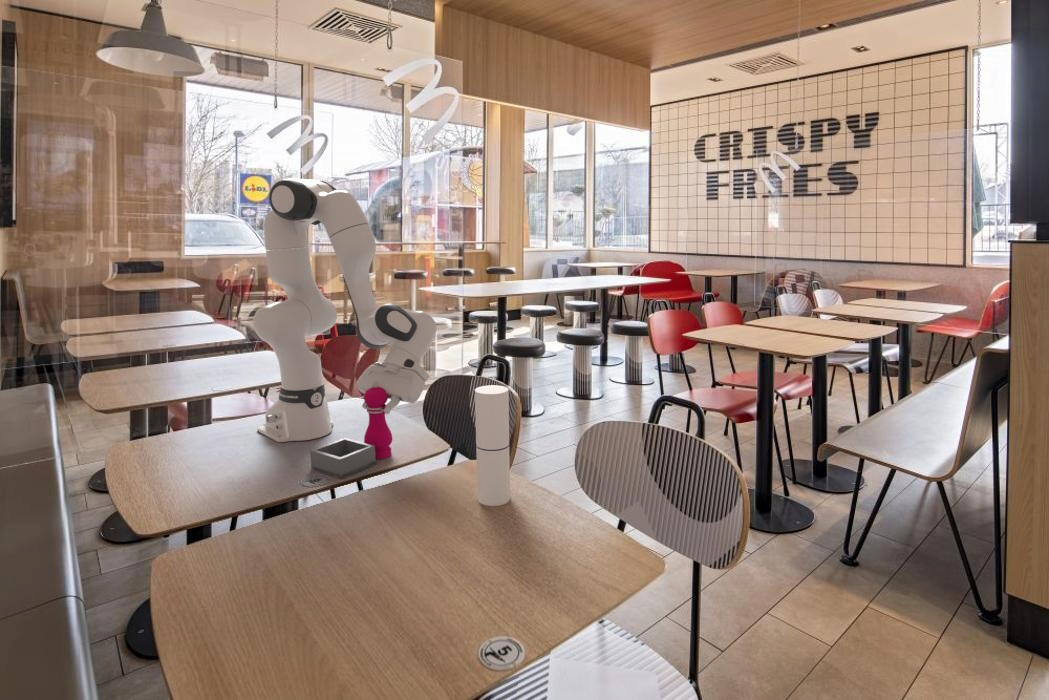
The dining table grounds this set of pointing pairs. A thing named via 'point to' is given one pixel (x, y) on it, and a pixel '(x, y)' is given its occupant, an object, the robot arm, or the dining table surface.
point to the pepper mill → (377, 421)
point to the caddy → (342, 458)
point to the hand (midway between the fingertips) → (374, 410)
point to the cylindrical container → (492, 444)
